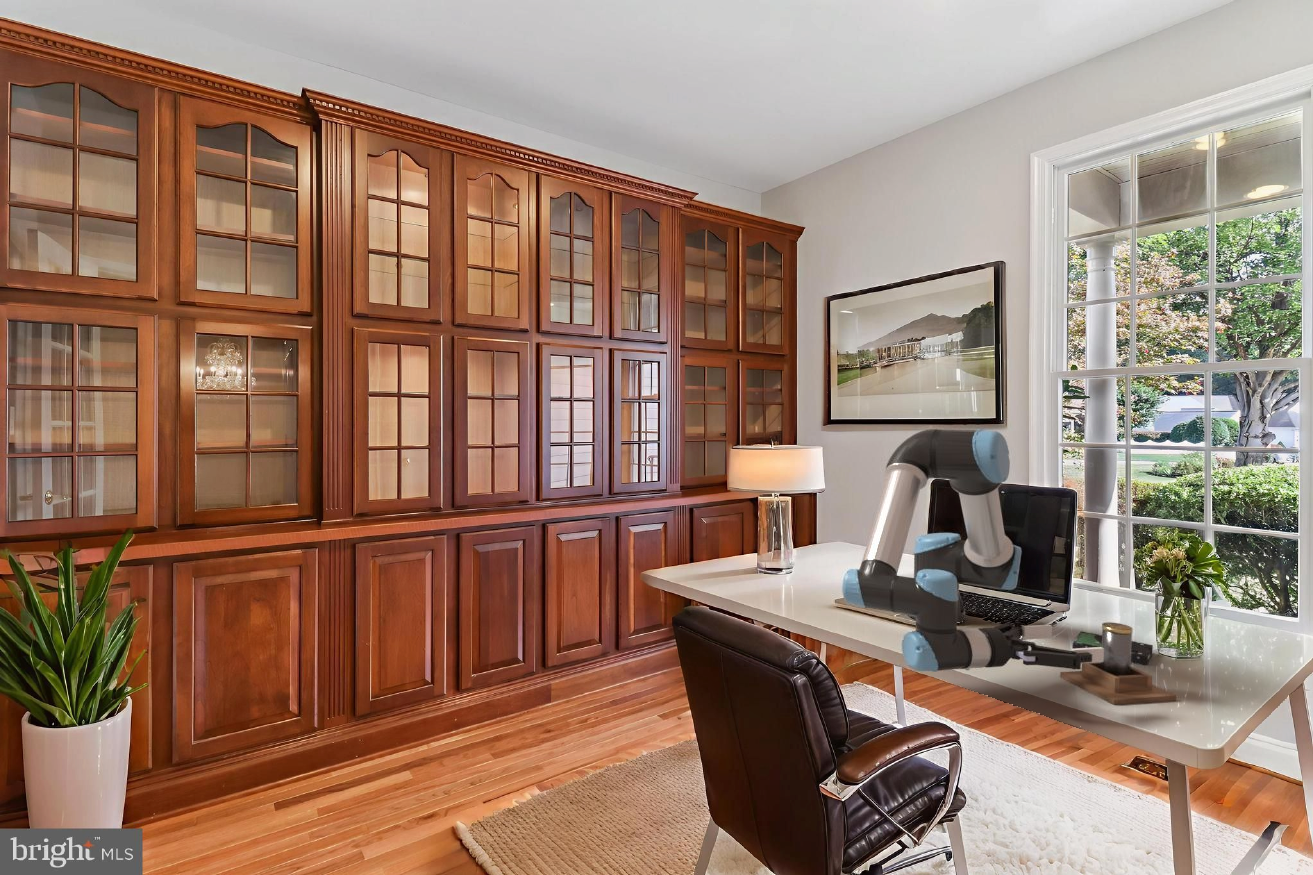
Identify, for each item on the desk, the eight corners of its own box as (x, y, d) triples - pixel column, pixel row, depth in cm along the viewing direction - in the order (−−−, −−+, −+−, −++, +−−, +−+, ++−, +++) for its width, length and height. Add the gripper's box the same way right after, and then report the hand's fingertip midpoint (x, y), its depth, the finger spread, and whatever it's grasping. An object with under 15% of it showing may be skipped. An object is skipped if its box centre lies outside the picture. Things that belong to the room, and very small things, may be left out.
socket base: (1060, 676, 145) (1060, 658, 145) (1117, 673, 147) (1117, 655, 147) (1113, 704, 131) (1114, 684, 131) (1175, 700, 133) (1176, 680, 133)
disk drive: (1152, 656, 159) (1079, 641, 169) (1153, 644, 159) (1080, 630, 169) (1147, 668, 151) (1071, 651, 161) (1148, 656, 151) (1072, 640, 161)
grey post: (1094, 678, 141) (1095, 622, 141) (1115, 677, 142) (1117, 621, 141) (1114, 689, 136) (1116, 630, 135) (1137, 687, 137) (1139, 629, 136)
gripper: (944, 644, 146) (1031, 639, 149) (1023, 692, 122) (1126, 685, 125) (944, 610, 146) (1032, 606, 149) (1024, 652, 121) (1127, 645, 124)
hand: (1075, 642), depth 137 cm, fingers open, 13 cm apart
